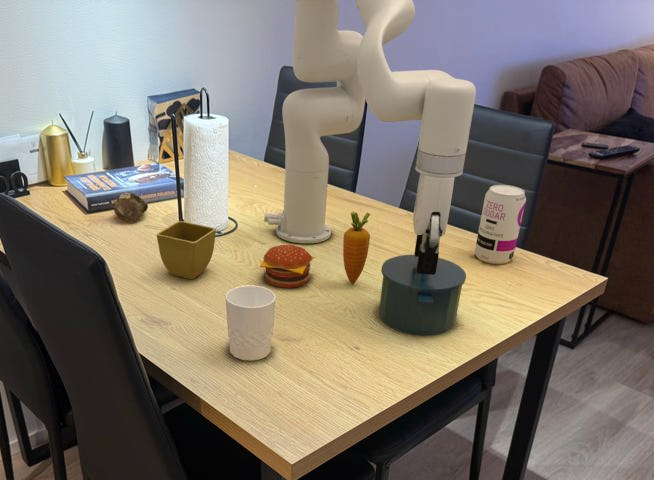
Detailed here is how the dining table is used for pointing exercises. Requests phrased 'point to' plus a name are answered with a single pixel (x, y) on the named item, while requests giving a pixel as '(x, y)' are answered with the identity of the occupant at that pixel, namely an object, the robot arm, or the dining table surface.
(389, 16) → the robot arm
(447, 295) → the pot
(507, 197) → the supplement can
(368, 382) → the dining table surface
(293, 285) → the hamburger
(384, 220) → the dining table surface
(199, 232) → the flower pot
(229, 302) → the white cup
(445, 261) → the pot lid
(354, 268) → the carrot
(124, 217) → the fossilized seashell
